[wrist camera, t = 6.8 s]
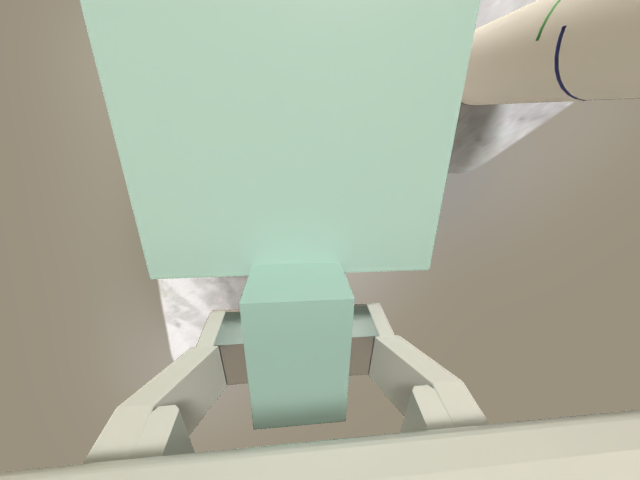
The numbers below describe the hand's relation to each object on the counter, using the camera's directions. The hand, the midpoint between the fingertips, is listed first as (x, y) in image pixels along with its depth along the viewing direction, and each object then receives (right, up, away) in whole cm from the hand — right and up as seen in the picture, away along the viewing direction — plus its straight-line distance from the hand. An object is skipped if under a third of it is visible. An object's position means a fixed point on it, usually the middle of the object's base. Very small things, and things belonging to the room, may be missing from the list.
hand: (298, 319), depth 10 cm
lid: (0, +6, -1) cm, 6 cm away
